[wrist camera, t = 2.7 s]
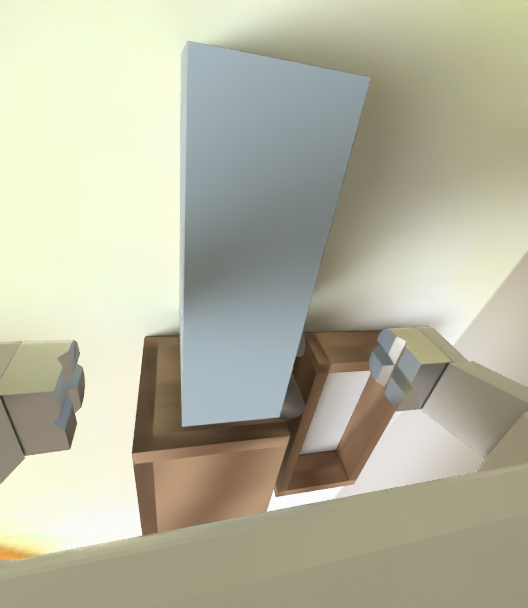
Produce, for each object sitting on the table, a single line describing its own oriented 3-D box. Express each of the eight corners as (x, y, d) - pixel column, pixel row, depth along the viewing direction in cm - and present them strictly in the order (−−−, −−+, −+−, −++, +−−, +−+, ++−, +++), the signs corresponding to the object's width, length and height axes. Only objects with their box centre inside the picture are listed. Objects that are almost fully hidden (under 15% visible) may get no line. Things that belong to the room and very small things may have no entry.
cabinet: (407, 314, 24) (486, 398, 18) (341, 454, 33) (377, 539, 27) (143, 318, 19) (129, 433, 13) (154, 479, 29) (149, 587, 23)
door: (302, 76, 14) (408, 85, 8) (262, 308, 21) (301, 415, 14) (180, 53, 13) (187, 40, 6) (179, 308, 19) (182, 426, 13)
